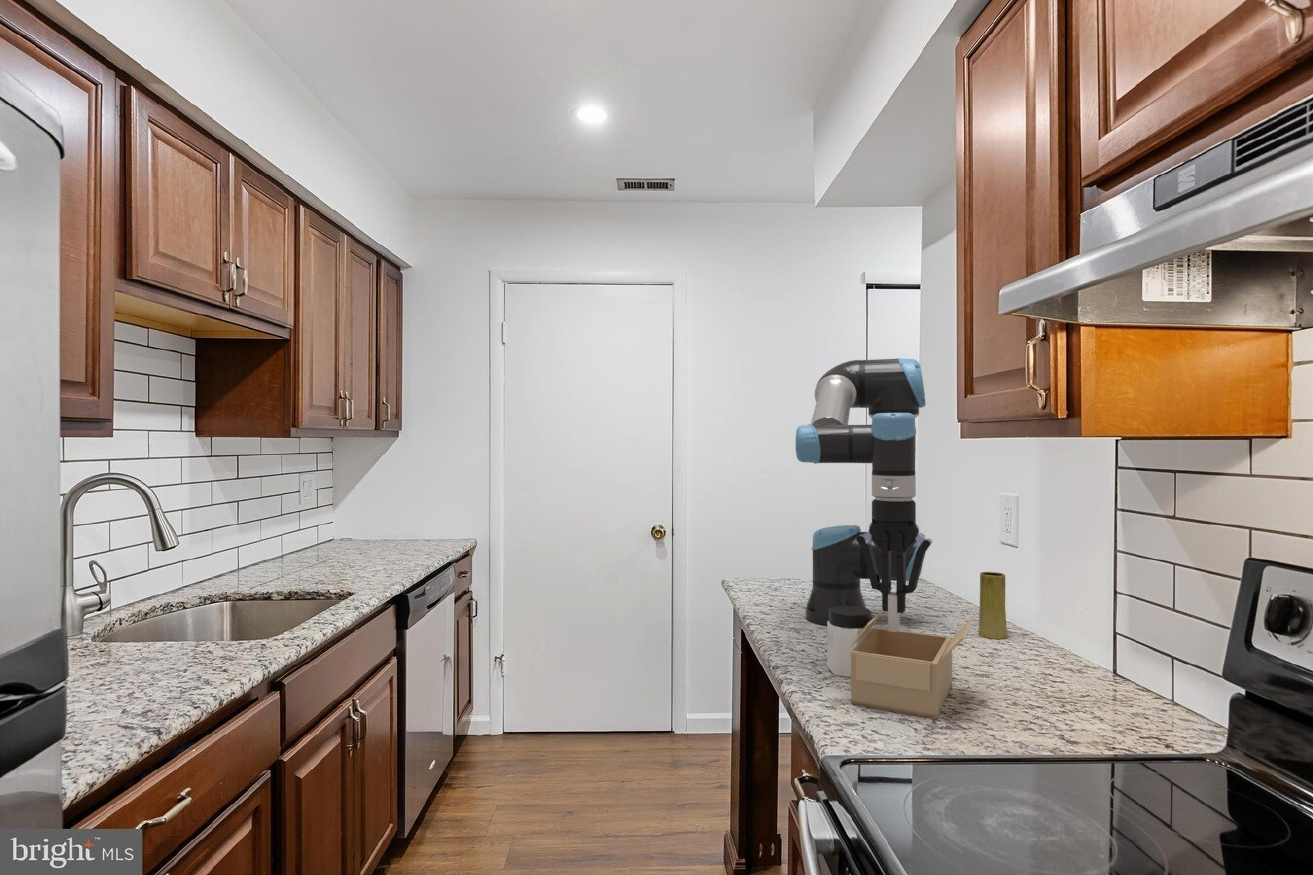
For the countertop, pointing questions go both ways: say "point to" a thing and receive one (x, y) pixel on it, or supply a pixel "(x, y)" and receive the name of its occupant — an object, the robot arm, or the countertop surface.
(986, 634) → the vase
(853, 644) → the flap
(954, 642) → the flap
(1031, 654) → the countertop surface
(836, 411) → the robot arm
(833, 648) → the jar
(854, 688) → the carton
